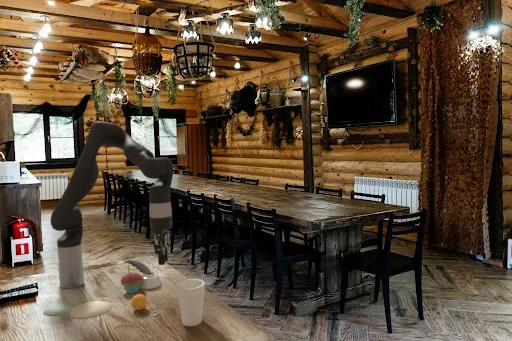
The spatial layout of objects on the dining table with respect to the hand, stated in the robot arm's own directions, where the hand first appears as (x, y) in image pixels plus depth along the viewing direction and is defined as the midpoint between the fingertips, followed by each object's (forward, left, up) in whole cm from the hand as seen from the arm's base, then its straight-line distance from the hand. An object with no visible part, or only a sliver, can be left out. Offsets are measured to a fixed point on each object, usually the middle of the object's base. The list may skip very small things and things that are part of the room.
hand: (163, 262), depth 147 cm
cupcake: (-25, +5, -17) cm, 31 cm away
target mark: (-23, -15, -17) cm, 32 cm away
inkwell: (-28, +12, -17) cm, 35 cm away
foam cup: (+15, -2, -17) cm, 23 cm away
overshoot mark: (-34, -21, -17) cm, 43 cm away
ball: (-8, -5, -14) cm, 17 cm away
